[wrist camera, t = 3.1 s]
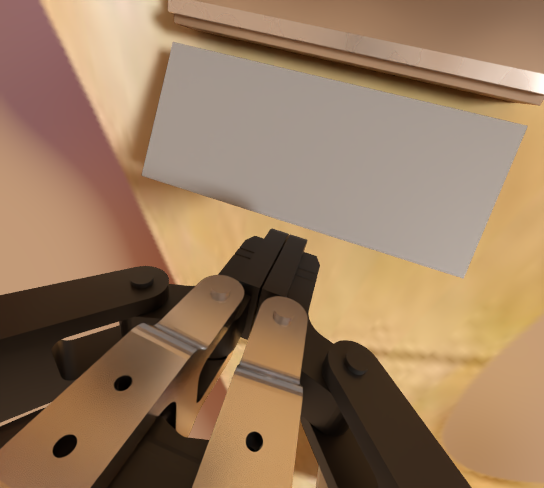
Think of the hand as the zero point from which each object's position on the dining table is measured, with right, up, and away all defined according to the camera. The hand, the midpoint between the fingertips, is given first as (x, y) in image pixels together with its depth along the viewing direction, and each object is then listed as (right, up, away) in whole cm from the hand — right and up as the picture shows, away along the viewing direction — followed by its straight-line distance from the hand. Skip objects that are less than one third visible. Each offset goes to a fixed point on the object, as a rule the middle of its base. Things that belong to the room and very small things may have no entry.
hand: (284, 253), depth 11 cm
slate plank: (+2, +5, +4) cm, 7 cm away
